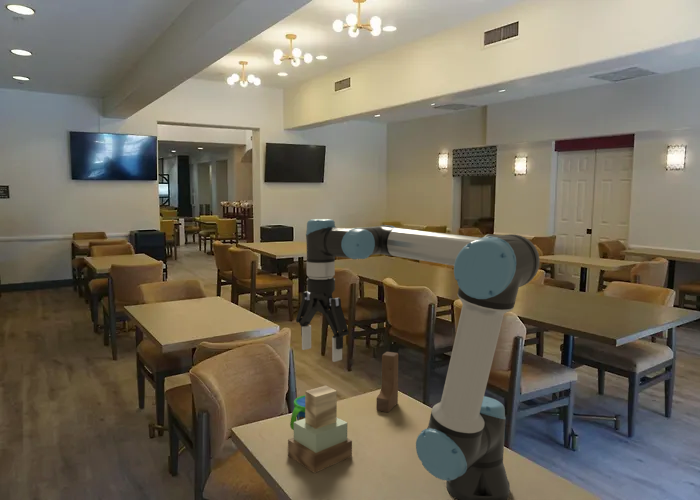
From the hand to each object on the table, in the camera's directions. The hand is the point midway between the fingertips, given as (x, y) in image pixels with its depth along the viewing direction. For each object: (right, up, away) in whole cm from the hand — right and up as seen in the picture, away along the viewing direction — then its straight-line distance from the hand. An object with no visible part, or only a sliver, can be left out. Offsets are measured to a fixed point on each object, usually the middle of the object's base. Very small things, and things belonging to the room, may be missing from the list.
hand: (321, 354), depth 142 cm
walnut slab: (-1, -29, +3) cm, 29 cm away
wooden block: (+20, -25, +37) cm, 49 cm away
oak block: (0, -19, +3) cm, 19 cm away
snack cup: (-4, -27, +17) cm, 33 cm away
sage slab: (0, -24, +3) cm, 24 cm away
